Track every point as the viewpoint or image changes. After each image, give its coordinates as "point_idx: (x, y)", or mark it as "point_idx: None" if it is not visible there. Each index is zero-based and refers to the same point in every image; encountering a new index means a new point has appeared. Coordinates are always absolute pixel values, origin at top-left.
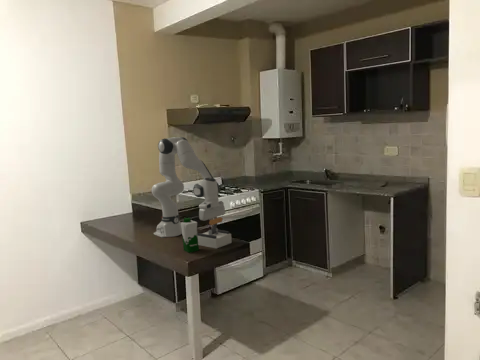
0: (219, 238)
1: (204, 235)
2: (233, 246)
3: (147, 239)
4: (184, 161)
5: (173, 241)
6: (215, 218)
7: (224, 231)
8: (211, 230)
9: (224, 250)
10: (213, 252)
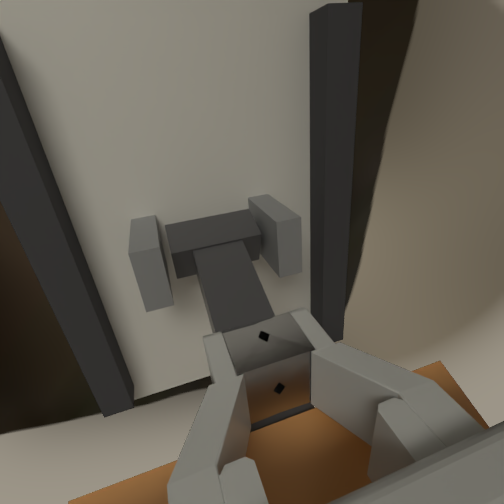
0: (167, 383)
1: (28, 243)
2: None
3: None
4: None
5: None
6: (374, 478)
7: (321, 303)
8: (160, 308)
9: (135, 404)
10: (35, 403)
